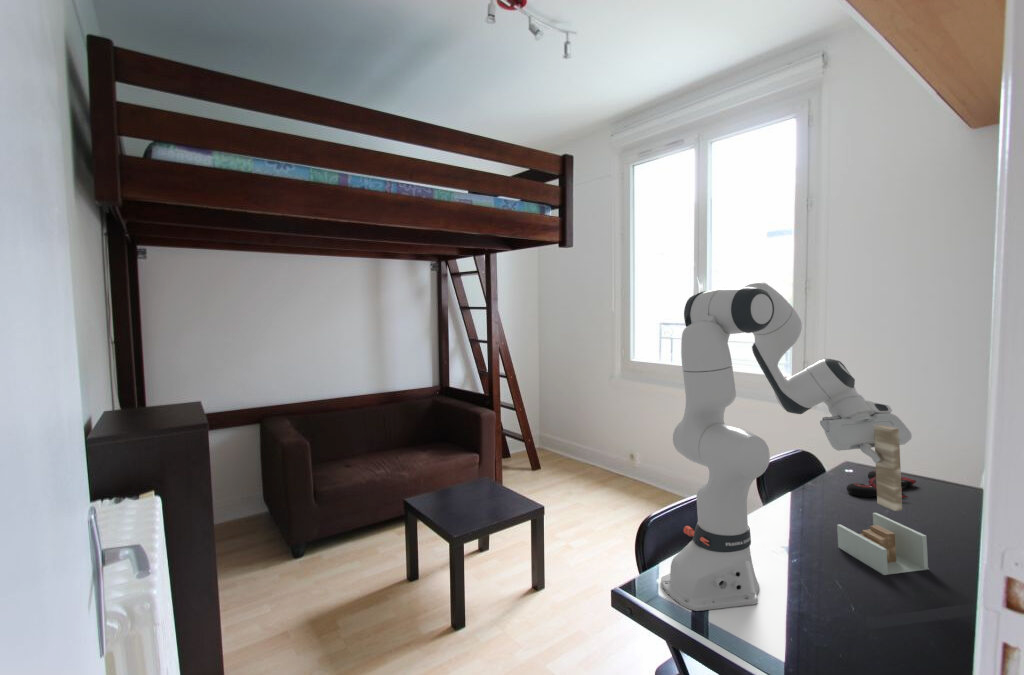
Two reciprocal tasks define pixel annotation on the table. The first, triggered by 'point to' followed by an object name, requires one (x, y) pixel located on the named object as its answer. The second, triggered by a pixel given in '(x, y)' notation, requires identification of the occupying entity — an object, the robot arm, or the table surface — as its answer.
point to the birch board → (888, 467)
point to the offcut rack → (907, 548)
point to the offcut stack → (882, 540)
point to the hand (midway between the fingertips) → (886, 461)
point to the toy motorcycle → (873, 486)
